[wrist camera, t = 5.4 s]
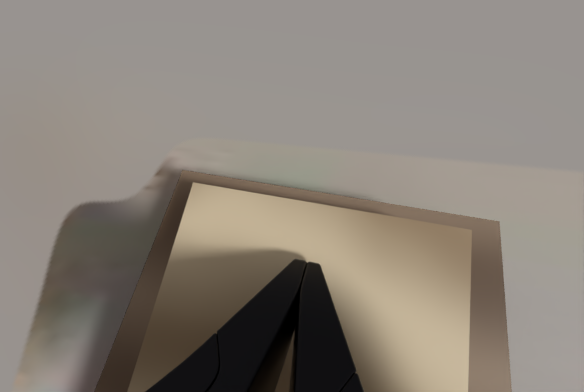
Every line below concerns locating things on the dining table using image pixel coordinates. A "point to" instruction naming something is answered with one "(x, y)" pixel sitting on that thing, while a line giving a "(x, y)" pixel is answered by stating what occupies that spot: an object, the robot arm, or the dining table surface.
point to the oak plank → (340, 279)
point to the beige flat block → (485, 233)
